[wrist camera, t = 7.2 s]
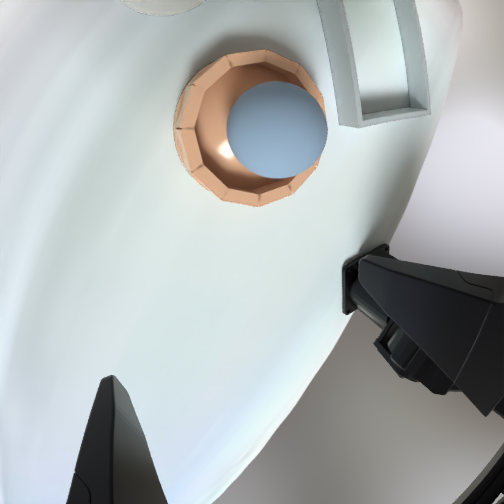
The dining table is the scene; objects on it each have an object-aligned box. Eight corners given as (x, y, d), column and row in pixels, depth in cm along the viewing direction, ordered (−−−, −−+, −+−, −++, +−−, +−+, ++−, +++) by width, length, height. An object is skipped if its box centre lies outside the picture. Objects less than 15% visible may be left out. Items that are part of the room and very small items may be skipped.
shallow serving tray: (413, 111, 25) (430, 114, 23) (339, 124, 22) (358, 128, 20) (389, -24, 17) (407, -28, 15) (304, -44, 14) (322, -53, 12)
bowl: (317, 174, 23) (334, 180, 21) (197, 219, 20) (206, 229, 18) (297, 48, 18) (314, 44, 16) (156, 72, 15) (161, 67, 13)
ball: (283, 78, 18) (341, 74, 13) (296, 156, 20) (352, 172, 16) (203, 94, 16) (244, 87, 11) (223, 180, 19) (267, 204, 14)
